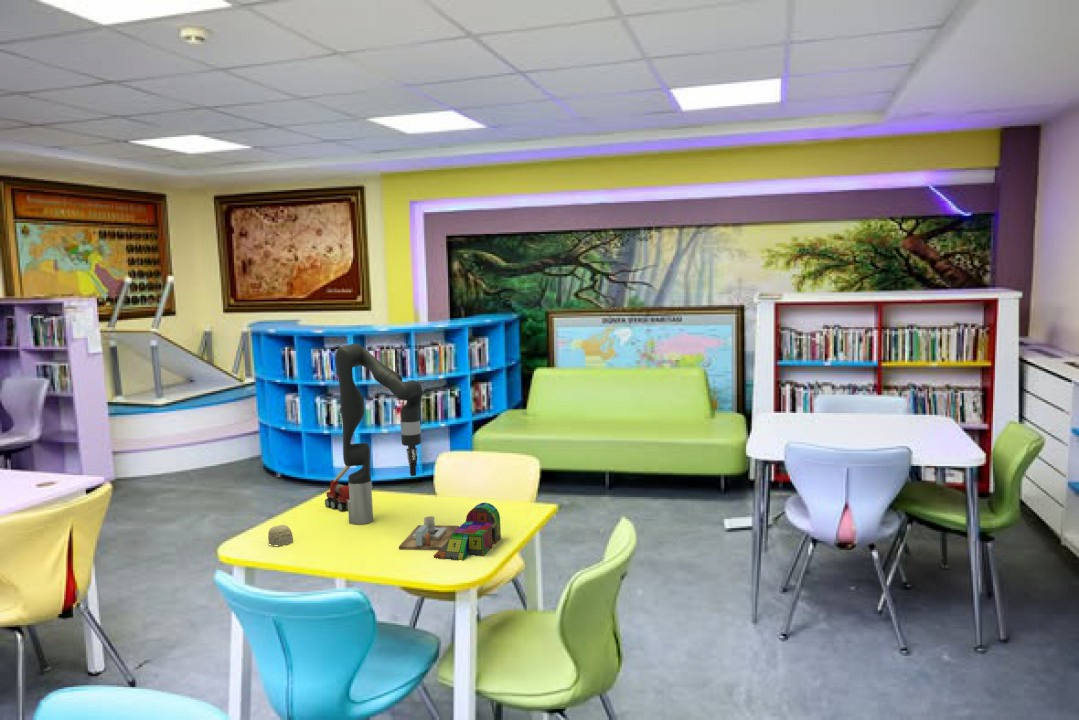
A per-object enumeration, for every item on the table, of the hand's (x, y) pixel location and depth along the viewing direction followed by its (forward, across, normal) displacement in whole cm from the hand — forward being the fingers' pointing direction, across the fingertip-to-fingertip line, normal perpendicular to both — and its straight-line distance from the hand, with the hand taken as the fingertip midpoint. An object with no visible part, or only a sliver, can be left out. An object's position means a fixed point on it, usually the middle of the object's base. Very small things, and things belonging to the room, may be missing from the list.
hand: (413, 475), depth 306 cm
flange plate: (+22, -11, -3) cm, 25 cm away
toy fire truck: (+25, +51, +26) cm, 62 cm away
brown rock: (+24, +9, +52) cm, 58 cm away
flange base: (+24, -7, -5) cm, 25 cm away
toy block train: (+24, -24, -17) cm, 37 cm away
